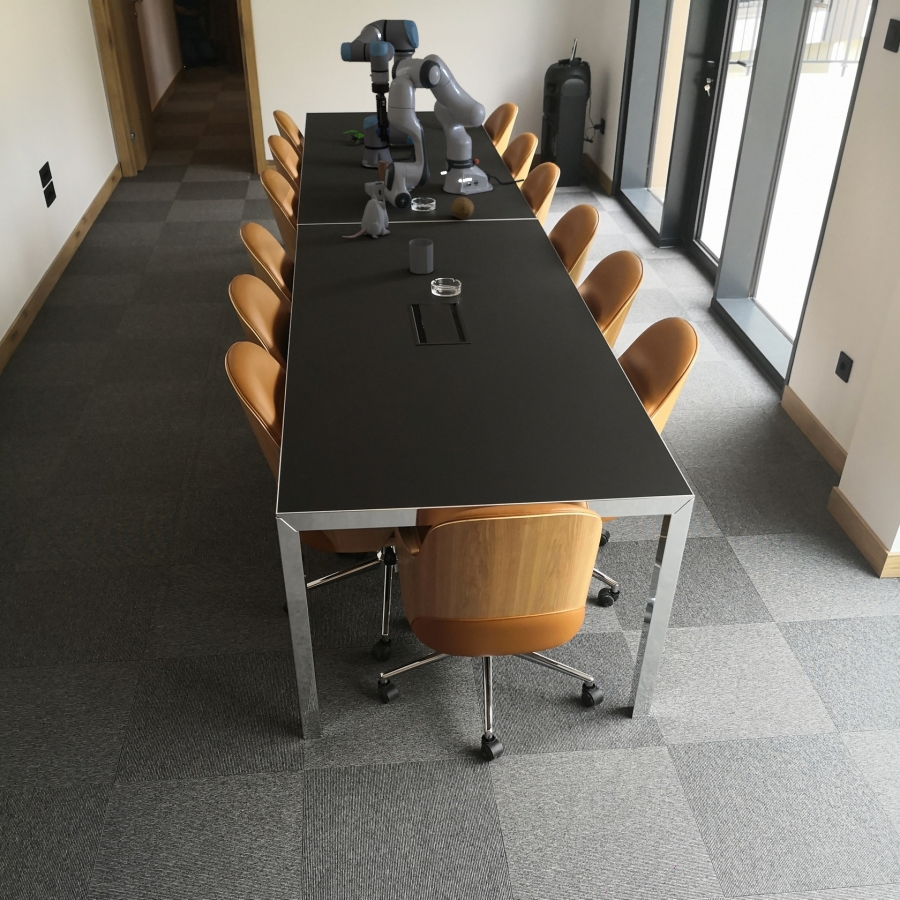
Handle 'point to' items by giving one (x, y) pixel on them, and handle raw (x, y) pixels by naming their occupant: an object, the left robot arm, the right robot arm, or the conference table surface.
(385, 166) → the jar
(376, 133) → the lid
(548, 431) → the conference table surface
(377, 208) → the toy
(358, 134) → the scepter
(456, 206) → the potato
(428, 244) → the cup
